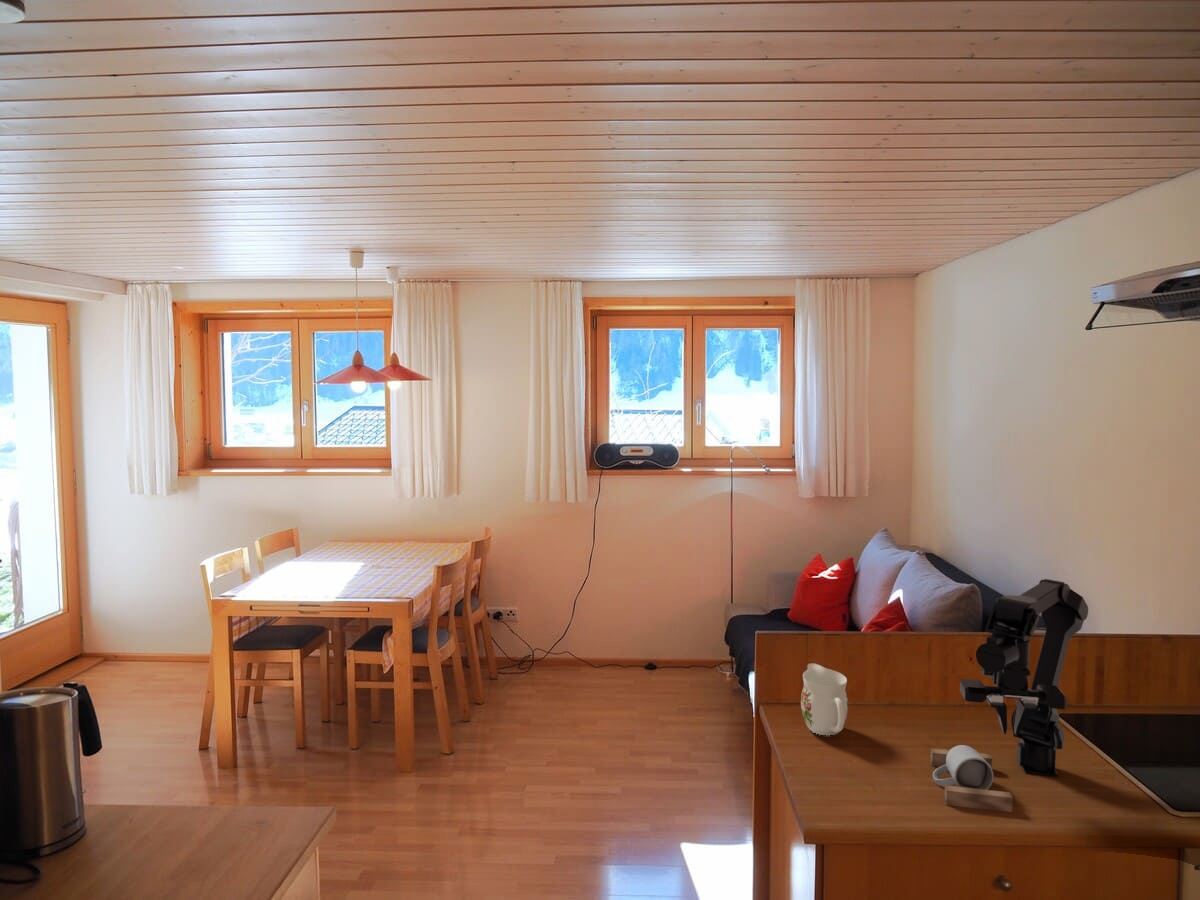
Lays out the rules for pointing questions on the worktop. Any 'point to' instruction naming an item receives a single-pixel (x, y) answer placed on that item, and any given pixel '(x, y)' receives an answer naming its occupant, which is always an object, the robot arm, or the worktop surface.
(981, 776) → the ceramic mug
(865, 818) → the worktop surface
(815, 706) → the pitcher
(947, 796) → the mug dock
